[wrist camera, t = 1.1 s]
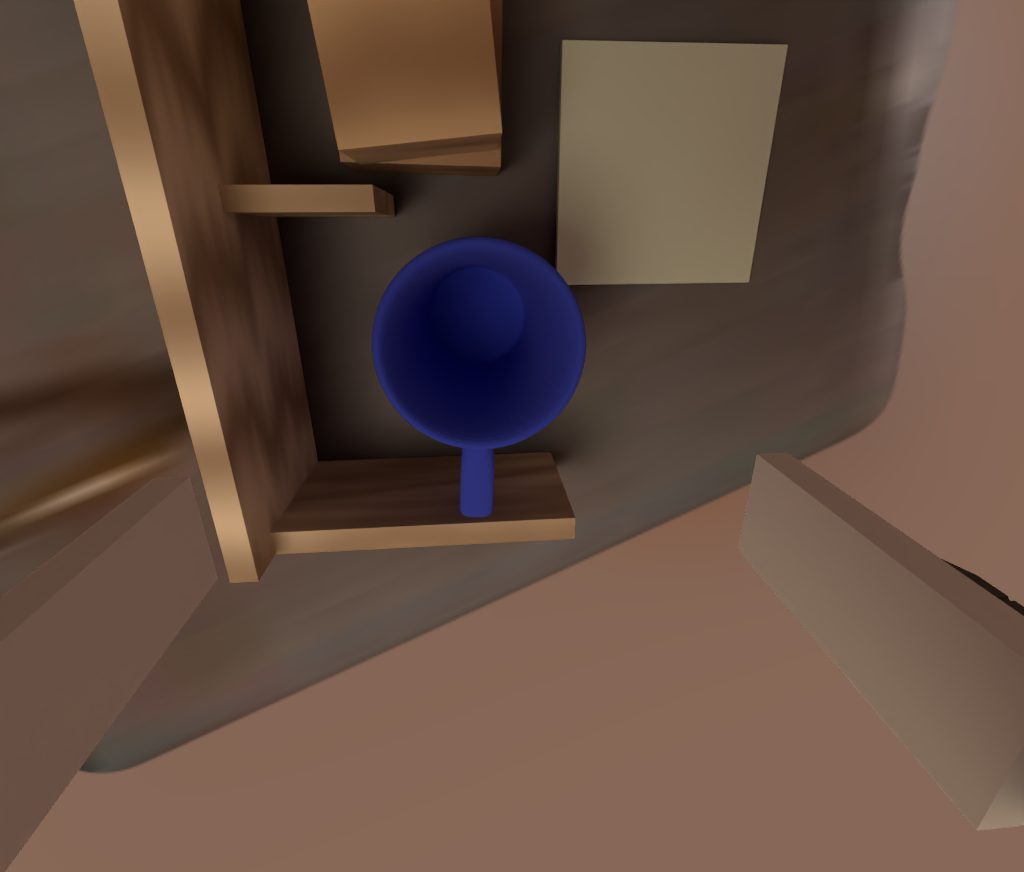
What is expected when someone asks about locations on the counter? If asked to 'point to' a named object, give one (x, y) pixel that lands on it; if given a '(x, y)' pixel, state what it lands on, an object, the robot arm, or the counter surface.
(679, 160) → the sage tile
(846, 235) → the counter surface
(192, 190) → the rack
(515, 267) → the mug
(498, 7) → the offcut walnut
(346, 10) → the offcut oak
